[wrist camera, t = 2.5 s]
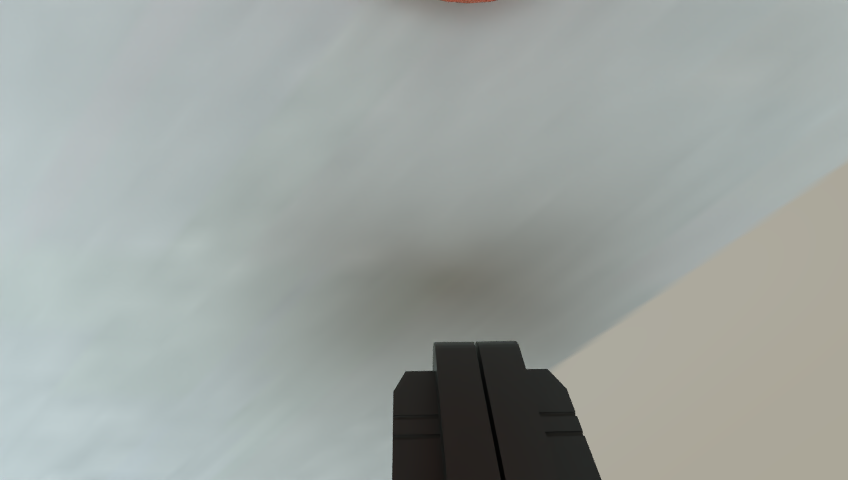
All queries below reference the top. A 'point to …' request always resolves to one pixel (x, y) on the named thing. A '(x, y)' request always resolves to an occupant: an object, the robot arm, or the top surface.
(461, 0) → the ball
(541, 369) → the robot arm
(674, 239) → the top surface
